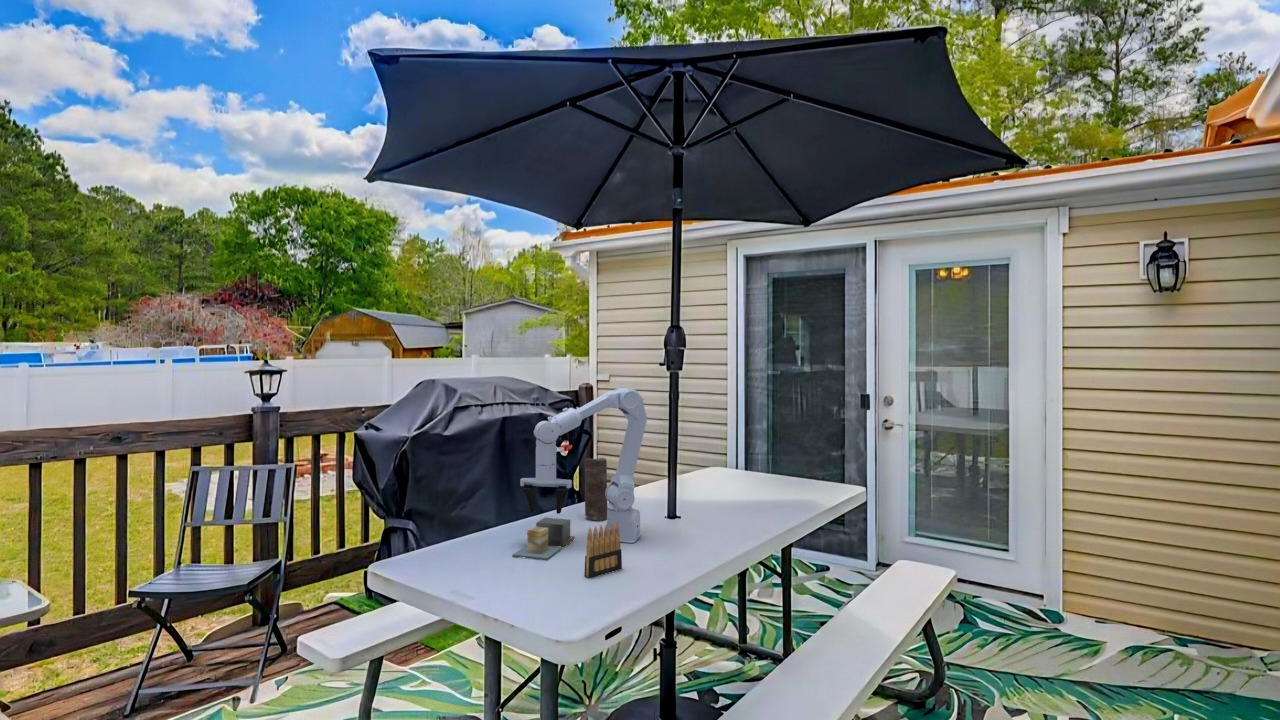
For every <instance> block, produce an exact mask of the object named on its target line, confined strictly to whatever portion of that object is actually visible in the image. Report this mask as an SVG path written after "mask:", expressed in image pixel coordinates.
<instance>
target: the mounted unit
mask: <svg viewBox="0 0 1280 720" xmlns="http://www.w3.org/2000/svg"><path fill="white" fill-rule="evenodd" d="M535 526H537V527H544V528H548V546H553V547H554V546H561V547H562V548H566V547H567V546H568V545H570V544H571V543H573V542H574V541H575V540H574V539H575V538H576V536H574V535H571V519H565V518H556V517H555V518H553V517H543V518H542V519H540V520H538V521H537V522H535ZM573 540H574V541H573ZM570 542H571V543H570ZM569 543H570V544H569ZM567 544H568V545H567ZM566 545H567V546H566ZM565 546H566V547H565Z"/></svg>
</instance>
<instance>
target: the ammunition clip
mask: <svg viewBox="0 0 1280 720" xmlns="http://www.w3.org/2000/svg"><path fill="white" fill-rule="evenodd" d="M585 548H586V554H585V558H584V574H583V576H584V577H585V578H588V579H593V578H596V577H600V576H603V575H606V574H605V573H607V574H610V573H613V572H612V571H614V572H616V570H617V571H621V570H622V569H623V562H622V561H623V560H622V559H623V557H622V556H623V555H622V549H621V542H620V530H619V524H618V522H616V526H615V536H614V526H613V523H611V525H610V531H609V530H608V526H607V523H606V524H605V526H604V528H603V525H601V524H600V526H599V527H598V528H597V526H594V528H593V531H592V528H591V527H589V528H588V531H587V542H586V547H585ZM620 569H621V570H620ZM609 572H610V573H609ZM602 574H603V575H602ZM599 575H600V576H599Z"/></svg>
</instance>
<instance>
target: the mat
mask: <svg viewBox="0 0 1280 720" xmlns="http://www.w3.org/2000/svg"><path fill="white" fill-rule="evenodd" d="M561 549H562V550H563V547H554V546H548V550H547V551H545V552H543V553H541V554H537V553H530V552H527V545H525V546H523V547H522V548H521V549H519V550H518V551H516V552H515V553H513V554H512V558H518V557H525V558H524V559H529V558H533V559H532V560H539V559H544V560H543V561H549V560H550V559H551V558H553V557H554V556H555V555H556V553H557V552H558V551H559V552H561V551H562V550H561ZM560 550H561V551H560ZM559 552H558V553H559ZM558 553H557V554H558ZM552 556H553V557H552ZM548 559H549V560H548Z"/></svg>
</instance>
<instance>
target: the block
mask: <svg viewBox="0 0 1280 720" xmlns="http://www.w3.org/2000/svg"><path fill="white" fill-rule="evenodd" d="M526 531H527V534H526V536H527V539H526V542H527V545H526V546H527V552H530V553H537V554H541V553H543V552H545V551H547V550H548V528H544V527H537V526H536V525H535V526H533V527H531V528H529V529H527V530H526Z"/></svg>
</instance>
